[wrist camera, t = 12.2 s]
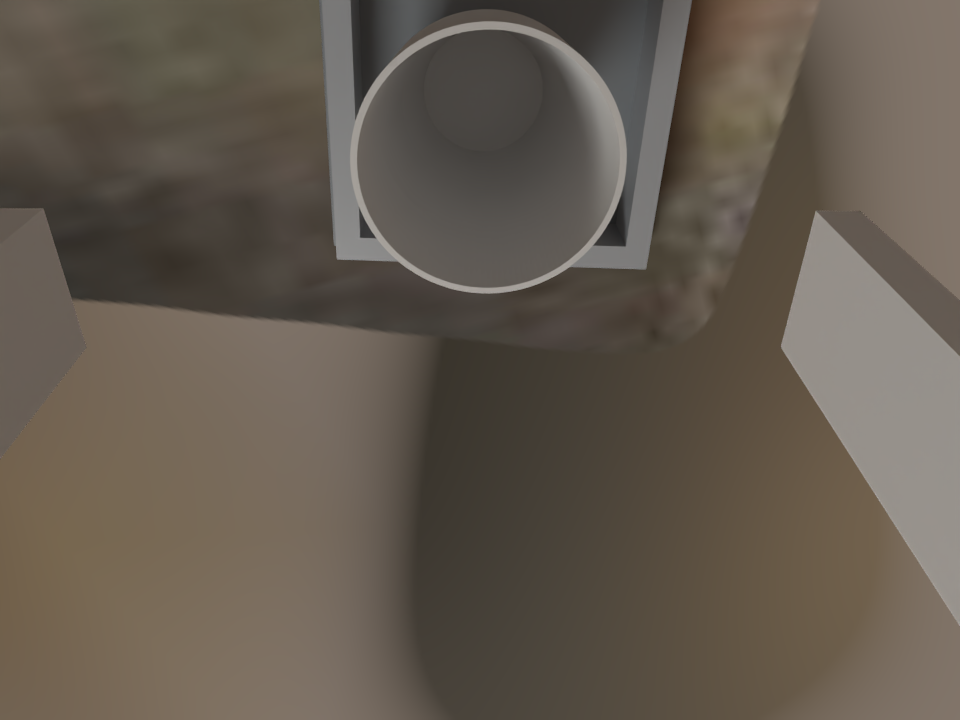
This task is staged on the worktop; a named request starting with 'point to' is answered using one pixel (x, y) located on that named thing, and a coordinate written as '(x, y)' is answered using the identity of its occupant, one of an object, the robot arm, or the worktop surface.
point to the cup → (488, 153)
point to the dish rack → (578, 21)
